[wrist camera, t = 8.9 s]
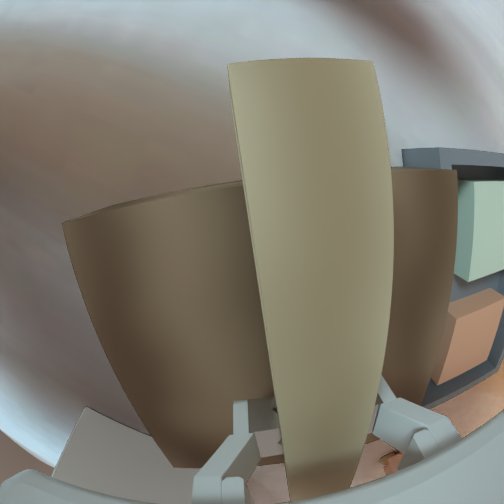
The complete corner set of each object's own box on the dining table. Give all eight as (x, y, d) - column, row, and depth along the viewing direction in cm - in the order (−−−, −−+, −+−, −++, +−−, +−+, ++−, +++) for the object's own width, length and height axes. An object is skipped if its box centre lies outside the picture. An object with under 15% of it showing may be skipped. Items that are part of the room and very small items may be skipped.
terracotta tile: (486, 360, 15) (474, 348, 17) (505, 297, 14) (490, 287, 15) (437, 385, 15) (425, 370, 17) (456, 319, 14) (440, 305, 15)
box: (387, 390, 18) (404, 419, 15) (401, 149, 13) (438, 147, 10) (478, 352, 18) (497, 371, 15) (503, 155, 13) (535, 159, 10)
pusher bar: (286, 479, 13) (294, 527, 9) (232, 112, 7) (227, 63, 4) (324, 471, 13) (336, 518, 10) (314, 104, 7) (372, 61, 4)
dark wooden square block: (183, 416, 18) (173, 467, 13) (112, 205, 14) (61, 223, 9) (385, 383, 18) (411, 427, 13) (399, 166, 14) (456, 170, 9)
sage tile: (515, 264, 13) (498, 256, 15) (520, 181, 11) (501, 178, 13) (468, 282, 13) (449, 271, 15) (474, 181, 11) (452, 178, 13)
